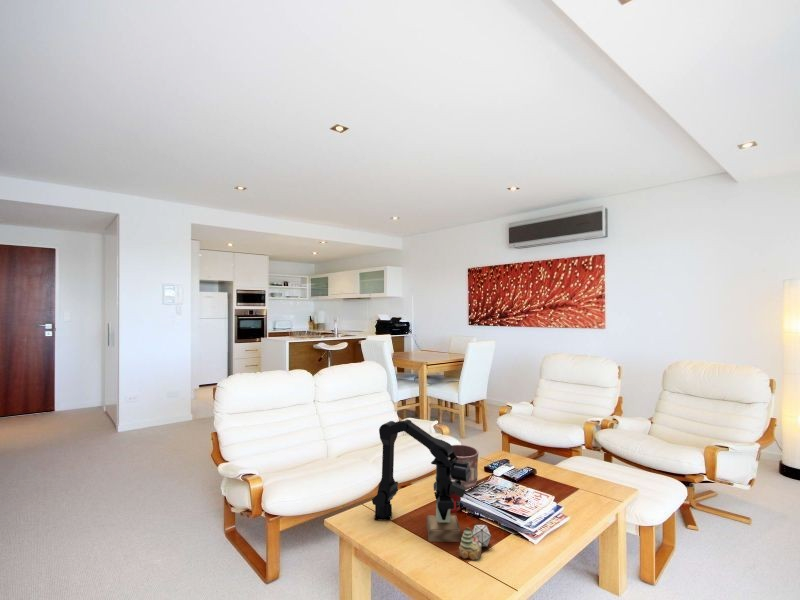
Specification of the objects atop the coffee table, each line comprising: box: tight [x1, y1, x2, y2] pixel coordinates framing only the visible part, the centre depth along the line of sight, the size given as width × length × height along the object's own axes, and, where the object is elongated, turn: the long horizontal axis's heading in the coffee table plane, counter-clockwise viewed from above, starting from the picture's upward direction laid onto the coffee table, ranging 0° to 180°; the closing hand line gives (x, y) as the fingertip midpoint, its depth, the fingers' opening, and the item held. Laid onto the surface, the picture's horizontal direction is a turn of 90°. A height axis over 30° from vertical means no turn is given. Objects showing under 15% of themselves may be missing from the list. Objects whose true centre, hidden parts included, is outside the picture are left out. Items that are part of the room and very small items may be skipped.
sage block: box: [435, 503, 451, 522], centre depth 169 cm, size 5×5×5 cm
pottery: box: [448, 444, 479, 489], centre depth 212 cm, size 18×18×18 cm
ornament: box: [458, 526, 482, 561], centre depth 154 cm, size 8×6×10 cm
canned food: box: [449, 480, 462, 513], centre depth 190 cm, size 8×8×11 cm
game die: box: [471, 522, 494, 549], centre depth 160 cm, size 9×8×10 cm
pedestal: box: [426, 514, 462, 543], centre depth 169 cm, size 12×12×4 cm
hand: (443, 516), depth 169 cm, fingers closed on sage block, 5 cm apart
